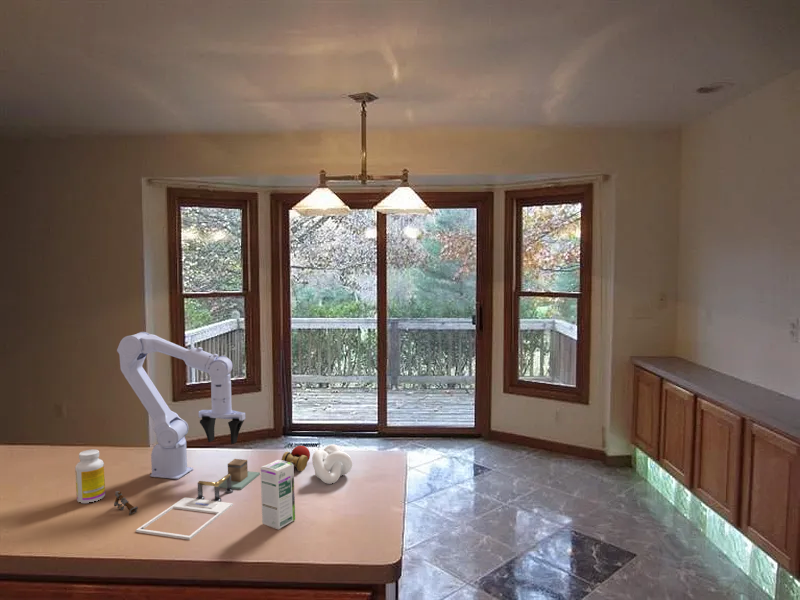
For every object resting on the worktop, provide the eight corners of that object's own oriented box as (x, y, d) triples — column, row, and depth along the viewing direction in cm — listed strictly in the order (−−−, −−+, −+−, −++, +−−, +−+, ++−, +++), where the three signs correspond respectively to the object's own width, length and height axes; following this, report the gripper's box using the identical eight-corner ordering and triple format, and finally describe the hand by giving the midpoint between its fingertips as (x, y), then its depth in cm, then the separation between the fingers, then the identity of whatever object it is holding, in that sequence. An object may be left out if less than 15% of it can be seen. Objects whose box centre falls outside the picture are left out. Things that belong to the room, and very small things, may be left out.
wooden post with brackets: (116, 501, 140) (119, 487, 139) (134, 520, 137) (138, 506, 135) (109, 504, 138) (113, 490, 137) (127, 523, 135) (131, 509, 134)
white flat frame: (232, 502, 140) (189, 536, 122) (233, 506, 140) (189, 541, 122) (184, 496, 143) (135, 529, 126) (184, 500, 143) (136, 533, 126)
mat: (215, 487, 151) (215, 484, 151) (235, 472, 162) (235, 470, 161) (241, 489, 149) (241, 487, 149) (259, 474, 160) (259, 472, 160)
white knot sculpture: (353, 470, 163) (353, 441, 162) (351, 486, 151) (350, 455, 150) (316, 470, 163) (316, 442, 162) (311, 487, 151) (310, 456, 150)
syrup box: (278, 530, 126) (277, 470, 125) (261, 523, 130) (259, 465, 128) (295, 520, 131) (294, 463, 130) (278, 514, 134) (277, 458, 133)
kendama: (291, 489, 153) (317, 458, 170) (286, 469, 152) (313, 440, 169) (268, 490, 155) (296, 460, 172) (263, 470, 154) (291, 442, 171)
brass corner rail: (194, 500, 142) (194, 481, 142) (211, 488, 150) (211, 469, 150) (218, 503, 141) (218, 483, 140) (234, 490, 148) (233, 472, 148)
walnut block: (228, 480, 154) (227, 463, 153) (235, 475, 158) (234, 458, 157) (240, 482, 153) (240, 465, 152) (247, 476, 157) (247, 459, 156)
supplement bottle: (110, 496, 145) (109, 450, 144) (87, 506, 139) (85, 458, 138) (94, 491, 148) (92, 446, 147) (71, 501, 142) (68, 454, 141)
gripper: (191, 399, 157) (193, 444, 158) (236, 402, 154) (237, 448, 155) (205, 393, 164) (206, 437, 165) (248, 396, 161) (249, 440, 162)
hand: (222, 442), depth 161 cm, fingers open, 7 cm apart
